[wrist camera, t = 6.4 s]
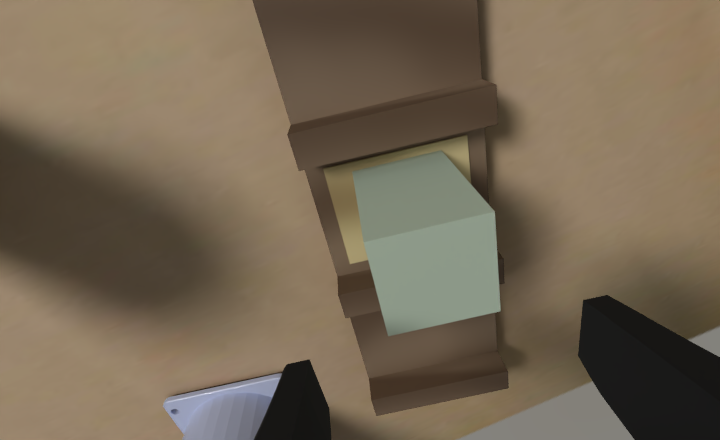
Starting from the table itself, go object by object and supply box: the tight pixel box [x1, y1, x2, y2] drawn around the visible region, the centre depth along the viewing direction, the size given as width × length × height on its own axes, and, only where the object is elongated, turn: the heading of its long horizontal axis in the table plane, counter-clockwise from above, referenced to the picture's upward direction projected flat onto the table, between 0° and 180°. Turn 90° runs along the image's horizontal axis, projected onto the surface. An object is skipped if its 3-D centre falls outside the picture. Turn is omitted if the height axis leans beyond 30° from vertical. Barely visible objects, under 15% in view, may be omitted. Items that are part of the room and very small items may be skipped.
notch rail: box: [253, 0, 509, 416], centre depth 17 cm, size 26×8×2 cm, turn 12°
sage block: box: [352, 150, 501, 336], centre depth 15 cm, size 4×4×6 cm
